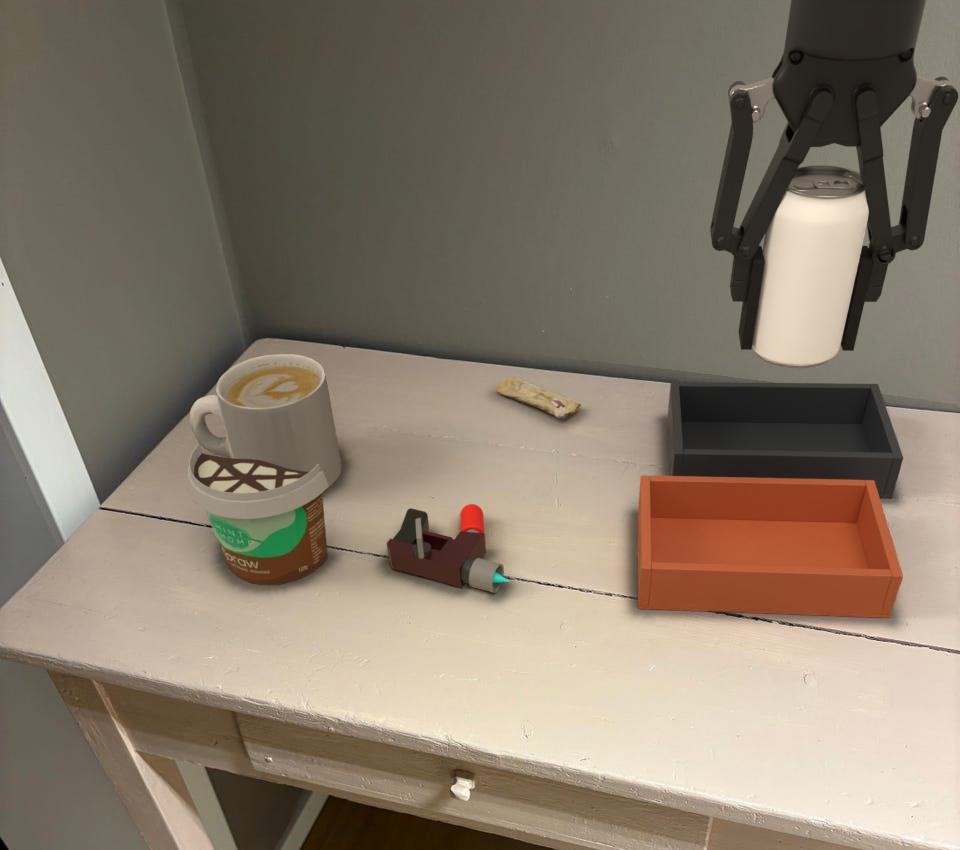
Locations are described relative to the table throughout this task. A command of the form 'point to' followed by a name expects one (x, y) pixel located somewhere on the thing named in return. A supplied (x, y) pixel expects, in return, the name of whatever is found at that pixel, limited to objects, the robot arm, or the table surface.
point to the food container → (262, 515)
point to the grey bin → (782, 432)
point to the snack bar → (538, 397)
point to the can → (810, 267)
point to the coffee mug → (273, 415)
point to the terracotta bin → (765, 546)
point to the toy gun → (446, 551)
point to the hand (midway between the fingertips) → (794, 340)
